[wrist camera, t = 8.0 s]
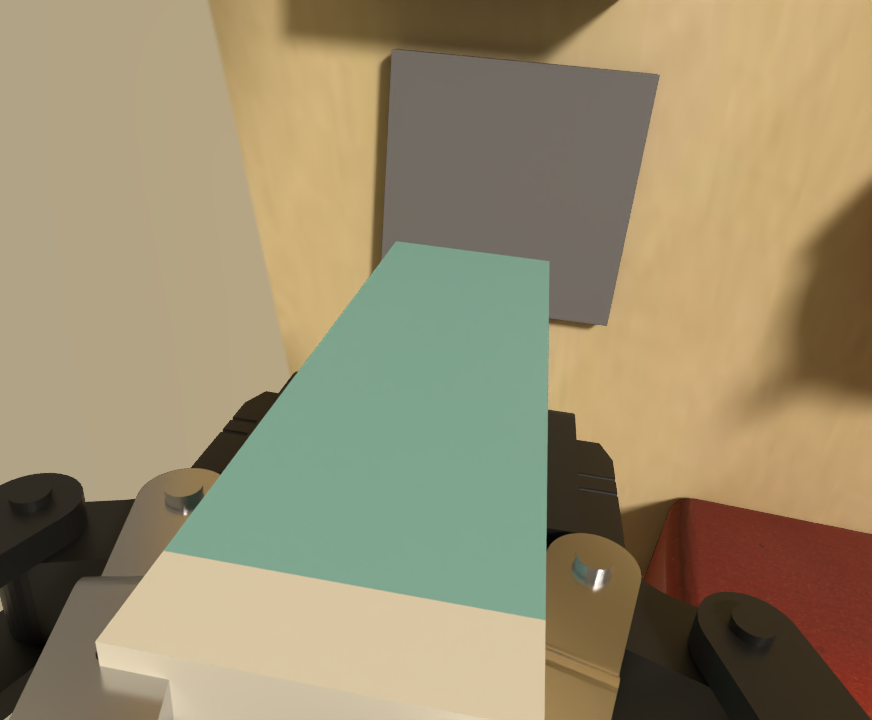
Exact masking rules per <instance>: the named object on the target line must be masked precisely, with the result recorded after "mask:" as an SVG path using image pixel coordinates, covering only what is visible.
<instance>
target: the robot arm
mask: <svg viewBox="0 0 872 720" xmlns="http://www.w3.org/2000/svg"><path fill="white" fill-rule="evenodd" d="M297 372H298V371H296V372H295V373H294V374H293V375H292V376H291V378H290V379H289V380H288V381H287V383H286V384H285V385H284V387H283V388H282V389H281V391H280V392H279V393H273V392H267V391H266V392H264V393H262V394H260V395H259V396H256V397H255V398H253V399H251V400H249V401H247V402H245V404H243V406H242V407H241V408H240V409H239V410H238V412H237V413H236V414H235V415H234V417H233V420H230V421H229V423H228V424H227V425H226V426H225V427H224V429H223V432H220V433H219V435H218V436H217V437H216V438H215V439H214V441H213V442H212V443H211V444H210V445H209V447H208V448H207V449H206V450H205V451H204V453H203V454H202V455H201V456H200V457H199V459H198V460H197V461H196V462H195V463H194V465H193V466H192V467H191V468H187V469H178V470H174V471H170V472H167V473H164V474H161V475H159V476H157V477H155V478H154V479H152V480H150V481H149V482H148V483H146V484H145V485H144V486H143V487H142V489H141V490H140V491H139V493H138V495H137V497H136V499H131V500H116V501H96V502H85V498H84V493H83V488H82V486H81V484H80V483H79V482H78V481H77V480H76V479H74V478H72V477H70V476H67V475H63V474H57V473H41V474H33V475H28V476H24V477H20V478H17V479H14V480H11V481H9V482H7V483H5V484H2V485H0V597H1V602H2V606H3V609H4V610H2V611H1V612H0V720H4V719H5V718H6V717H8V716H9V715H10V714H11V713H12V715H11V717H10V719H9V720H173V717H174V716H173V708H172V700H171V692H170V684H169V680H168V679H163V678H158V677H153V676H148V675H143V674H138V673H133V672H128V671H123V670H118V669H113V668H108V667H103V666H100V665H99V660H98V654H97V649H96V643H95V641H96V640H97V639H98V637H99V636H100V635H101V633H102V632H103V631H104V629H105V628H106V627H107V625H108V624H109V623H110V621H111V620H112V619H113V617H114V616H115V615H116V613H117V612H118V611H119V609H120V608H121V607H122V605H123V604H124V603H125V601H126V600H127V599H128V597H129V596H130V595H131V593H132V592H133V591H134V589H135V588H136V587H137V585H138V584H139V583H140V581H141V580H142V579H143V577H144V576H145V575H146V573H147V572H148V571H149V569H150V568H151V567H152V565H153V564H154V563H155V561H156V560H157V559H158V557H159V556H160V555H161V553H162V552H163V551H164V549H165V548H166V547H167V545H168V544H169V543H170V541H171V540H172V539H173V537H174V536H175V535H176V533H177V532H178V531H179V529H180V528H181V527H182V525H183V524H184V523H185V521H186V520H187V519H188V517H189V516H190V515H191V513H192V512H193V511H194V509H195V508H196V507H197V505H198V504H199V503H200V502H201V500H202V499H203V498H204V496H205V495H206V494H207V492H208V491H209V490H210V488H211V487H212V486H213V484H214V483H215V482H216V480H217V479H218V478H219V476H220V475H221V474H222V472H223V471H224V470H225V468H226V467H227V466H228V464H229V463H230V462H231V460H232V459H233V458H234V456H235V455H236V454H237V452H238V451H239V450H240V448H241V447H242V446H243V444H244V443H245V442H246V440H247V439H248V438H249V436H250V435H251V434H252V432H253V431H254V430H255V428H256V427H257V426H258V424H259V423H260V422H261V420H262V419H263V418H264V416H265V415H266V414H267V412H268V411H269V410H270V408H271V407H272V406H273V404H274V403H275V402H276V400H277V399H278V398H279V396H280V395H281V394H282V392H283V391H284V390H285V388H286V387H287V386H288V384H289V383H290V382H291V380H292V379H293V378H294V376H295V375H296V374H297ZM545 720H871V718H870V717H869V716H868V715H867V713H866V712H865V711H864V710H863V708H862V707H861V706H860V705H859V703H858V702H857V701H856V700H855V698H854V697H853V696H852V695H851V693H850V692H849V691H848V690H847V688H846V687H845V686H844V685H843V683H842V682H841V681H840V680H839V679H838V677H837V676H836V675H835V674H834V672H833V671H832V670H831V669H830V667H829V666H828V665H827V664H826V662H825V661H824V660H823V659H822V657H821V656H820V655H819V654H818V652H817V651H816V650H815V649H814V647H813V646H812V645H811V644H810V642H809V641H808V640H807V639H806V638H805V636H804V635H803V634H802V633H801V631H800V630H799V629H798V628H797V626H796V625H795V624H794V623H793V622H792V621H791V620H790V619H789V618H788V617H787V616H786V615H785V614H784V613H782V612H781V611H780V610H778V609H777V608H775V607H774V606H772V605H770V604H769V603H767V602H765V601H763V600H761V599H758V598H756V597H753V596H750V595H747V594H743V593H738V592H718V593H714V594H711V595H709V596H707V597H706V598H704V599H703V601H702V602H701V603H700V605H699V607H696V606H693V605H691V604H688V603H686V602H683V601H681V600H679V599H676V598H674V597H671V596H669V595H667V594H665V593H663V592H661V591H659V590H658V589H656V588H654V587H653V586H651V585H650V584H649V583H647V582H646V581H645V580H644V579H643V578H641V570H640V568H639V565H638V563H637V562H636V560H635V559H634V557H633V556H632V555H631V554H630V553H629V552H628V551H627V550H626V549H625V544H624V537H623V530H622V523H621V516H620V509H619V502H618V497H617V488H616V482H615V474H614V467H613V460H612V459H611V458H610V457H609V455H608V454H607V453H606V451H605V450H604V449H603V448H602V446H601V445H600V444H599V443H593V442H587V441H580V440H576V425H575V414H573V413H567V412H560V411H553V410H548V443H547V536H546V629H545Z"/></svg>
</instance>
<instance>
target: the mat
mask: <svg viewBox="0 0 872 720" xmlns="http://www.w3.org/2000/svg"><path fill="white" fill-rule="evenodd" d="M659 76H660V75H657V74H650V73H639V72H629V71H619V70H608V69H598V68H588V67H577V66H567V65H557V64H547V63H536V62H526V61H516V60H505V59H495V58H485V57H474V56H464V55H454V54H443V53H433V52H423V51H412V50H402V49H392V55H391V75H390V95H389V116H388V136H387V156H386V177H385V197H384V218H383V238H382V258H381V261H382V259H383V258H384V257H385V255H386V254H387V253H388V251H389V250H390V249H391V247H392V246H393V245H394V243H395V242H396V241H398V242H406V243H414V244H421V245H429V246H437V247H444V248H452V249H460V250H467V251H475V252H483V253H490V254H498V255H506V256H513V257H521V258H529V259H536V260H544V261H549V318H552V319H559V320H566V321H574V322H581V323H589V324H596V325H604V326H607V323H608V318H609V313H610V308H611V304H612V299H613V294H614V289H615V285H616V280H617V275H618V270H619V266H620V261H621V256H622V251H623V247H624V242H625V237H626V232H627V228H628V223H629V218H630V213H631V209H632V204H633V199H634V194H635V190H636V185H637V180H638V175H639V171H640V166H641V161H642V156H643V152H644V147H645V142H646V137H647V133H648V128H649V123H650V118H651V114H652V109H653V104H654V99H655V95H656V90H657V85H658V80H659Z"/></svg>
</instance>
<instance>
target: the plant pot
mask: <svg viewBox="0 0 872 720" xmlns="http://www.w3.org/2000/svg"><path fill="white" fill-rule="evenodd" d="M644 580H645V581H646V582H647V583H649V584H650V585H651V586H653V587H654V588H656V589H658V590H659V591H661V592H663V593H665V594H667V595H669V596H671V597H674V598H676V599H679V600H681V601H683V602H686V603H688V604H691V605H693V606H696V607H699V605H700V603H701V602H702V601H703V599H704V598H706V597H707V596H709V595H711V594H714V593H718V592H738V593H743V594H747V595H750V596H753V597H756V598H758V599H761V600H763V601H765V602H767V603H769V604H770V605H772V606H774V607H775V608H777V609H778V610H780V611H781V612H782V613H784V614H785V615H786V616H787V617H788V618H789V619H790V620H791V621H792V622H793V623H794V624H795V625H796V626H797V628H798V629H799V630H800V631H801V633H802V634H803V635H804V636H805V638H806V639H807V640H808V641H809V642H810V644H811V645H812V646H813V647H814V649H815V650H816V651H817V652H818V654H819V655H820V656H821V657H822V659H823V660H824V661H825V662H826V664H827V665H828V666H829V667H830V669H831V670H832V671H833V672H834V674H835V675H836V676H837V677H838V679H839V680H840V681H841V682H842V683H843V685H844V686H845V687H846V688H847V690H848V691H849V692H850V693H851V695H852V696H853V697H854V698H855V700H856V701H857V702H858V703H859V705H860V706H861V707H862V708H863V710H864V711H865V712H866V713H867V715H868V716H869V717H870V718H871V720H872V534H868V533H863V532H858V531H853V530H848V529H843V528H838V527H833V526H828V525H823V524H818V523H813V522H808V521H803V520H798V519H793V518H788V517H783V516H778V515H773V514H769V513H764V512H759V511H754V510H749V509H744V508H739V507H734V506H729V505H724V504H719V503H714V502H709V501H704V500H699V499H683V500H679V501H678V502H676V503H675V504H674V505H673V506H672V507H671V509H670V511H669V513H668V516H667V518H666V521H665V524H664V526H663V529H662V532H661V534H660V537H659V540H658V542H657V545H656V548H655V550H654V553H653V556H652V558H651V561H650V564H649V566H648V569H647V572H646V575H645V577H644Z"/></svg>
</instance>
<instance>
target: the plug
mask: <svg viewBox="0 0 872 720" xmlns="http://www.w3.org/2000/svg"><path fill="white" fill-rule="evenodd" d="M548 350H549V261H544V260H536V259H529V258H521V257H513V256H506V255H498V254H490V253H483V252H475V251H467V250H460V249H452V248H444V247H437V246H429V245H421V244H414V243H406V242H398V241H396V242H395V243H394V245H393V246H392V247H391V249H390V250H389V251H388V253H387V254H386V255H385V257H384V258H383V259H382V261H381V262H380V263H379V265H378V266H377V267H376V269H375V270H374V271H373V273H372V274H371V275H370V277H369V278H368V279H367V281H366V282H365V283H364V285H363V286H362V287H361V289H360V290H359V291H358V293H357V294H356V295H355V297H354V298H353V299H352V301H351V302H350V303H349V305H348V306H347V307H346V309H345V310H344V311H343V313H342V314H341V315H340V317H339V318H338V319H337V321H336V322H335V323H334V325H333V326H332V327H331V329H330V330H329V331H328V333H327V334H326V335H325V337H324V338H323V339H322V341H321V342H320V343H319V345H318V346H317V347H316V349H315V350H314V351H313V352H312V354H311V355H310V356H309V358H308V359H307V360H306V362H305V363H304V364H303V366H302V367H301V368H300V370H299V371H298V372H297V374H296V375H295V376H294V378H293V379H292V380H291V382H290V383H289V384H288V386H287V387H286V388H285V390H284V391H283V392H282V394H281V395H280V396H279V398H278V399H277V400H276V402H275V403H274V404H273V406H272V407H271V408H270V410H269V411H268V412H267V414H266V415H265V416H264V418H263V419H262V420H261V422H260V423H259V424H258V426H257V427H256V428H255V430H254V431H253V432H252V434H251V435H250V436H249V438H248V439H247V440H246V442H245V443H244V444H243V446H242V447H241V448H240V450H239V451H238V452H237V454H236V455H235V456H234V458H233V459H232V460H231V462H230V463H229V464H228V466H227V467H226V468H225V470H224V471H223V472H222V474H221V475H220V476H219V478H218V479H217V480H216V482H215V483H214V484H213V486H212V487H211V488H210V490H209V491H208V492H207V494H206V495H205V496H204V498H203V499H202V500H201V502H200V503H199V504H198V505H197V507H196V508H195V509H194V511H193V512H192V513H191V515H190V516H189V517H188V519H187V520H186V521H185V523H184V524H183V525H182V527H181V528H180V529H179V531H178V532H177V533H176V535H175V536H174V537H173V539H172V540H171V541H170V543H169V544H168V545H167V547H166V548H165V549H164V551H163V552H162V553H161V555H160V556H159V557H158V559H157V560H156V561H155V563H154V564H153V565H152V567H151V568H150V569H149V571H148V572H147V573H146V575H145V576H144V577H143V579H142V580H141V581H140V583H139V584H138V585H137V587H136V588H135V589H134V591H133V592H132V593H131V595H130V596H129V597H128V599H127V600H126V601H125V603H124V604H123V605H122V607H121V608H120V609H119V611H118V612H117V613H116V615H115V616H114V617H113V619H112V620H111V621H110V623H109V624H108V625H107V627H106V628H105V629H104V631H103V632H102V633H101V635H100V636H99V637H98V639H97V640H96V641H95V643H96V649H97V654H98V660H99V665H100V666H103V667H108V668H113V669H118V670H123V671H128V672H133V673H138V674H143V675H148V676H153V677H158V678H163V679H168V680H169V684H170V692H171V700H172V708H173V716H174V717H173V720H545V629H546V536H547V443H548Z"/></svg>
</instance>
